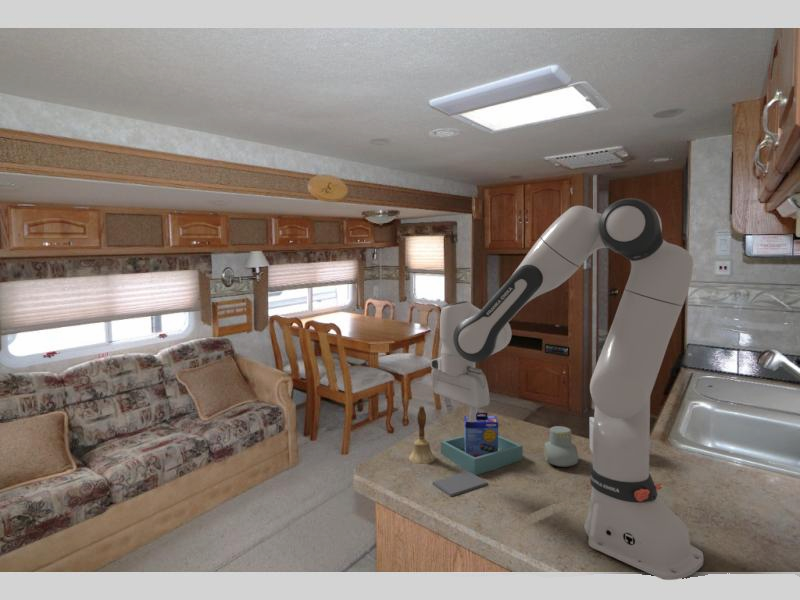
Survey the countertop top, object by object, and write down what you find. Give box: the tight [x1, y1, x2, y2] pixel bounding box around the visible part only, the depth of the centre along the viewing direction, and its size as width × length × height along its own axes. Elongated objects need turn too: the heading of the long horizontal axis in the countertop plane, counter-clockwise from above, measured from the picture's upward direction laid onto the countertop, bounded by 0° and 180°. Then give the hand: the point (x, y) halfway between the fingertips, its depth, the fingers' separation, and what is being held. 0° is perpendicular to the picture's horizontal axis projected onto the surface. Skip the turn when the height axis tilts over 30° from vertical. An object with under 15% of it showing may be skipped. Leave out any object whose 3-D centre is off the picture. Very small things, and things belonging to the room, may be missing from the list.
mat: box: [432, 471, 489, 497], centre depth 120 cm, size 8×12×1 cm, turn 120°
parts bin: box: [440, 434, 524, 476], centre depth 137 cm, size 16×18×4 cm
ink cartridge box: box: [463, 412, 499, 457], centre depth 136 cm, size 10×6×14 cm, turn 87°
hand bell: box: [408, 406, 436, 465], centre depth 137 cm, size 8×8×16 cm
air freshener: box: [543, 425, 579, 468], centre depth 132 cm, size 11×8×10 cm
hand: (460, 416), depth 119 cm, fingers open, 8 cm apart
